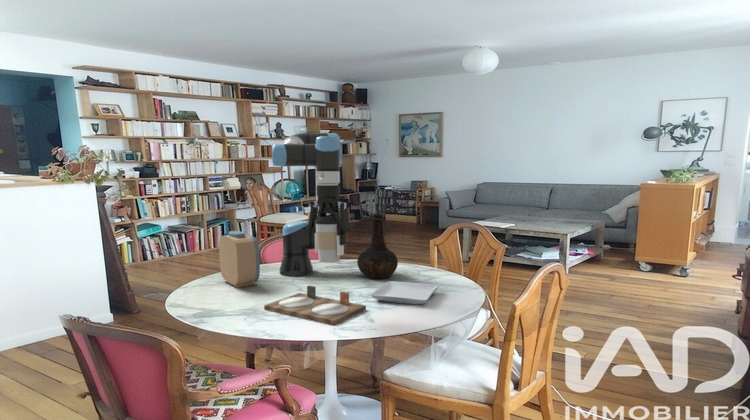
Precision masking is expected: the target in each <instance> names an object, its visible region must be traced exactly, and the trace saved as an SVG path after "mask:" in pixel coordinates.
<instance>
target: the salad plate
mask: <svg viewBox="0 0 750 420" xmlns="http://www.w3.org/2000/svg"><path fill="white" fill-rule="evenodd" d="M439 287H440V284H436V283H435V284H433V283H423V282H422V283H421V282H412V281H411V282H409V281H408V282H407V281H393V280H392V281H391V280H388V281H387V282H385V283H383V284H382V285H381V286H379V287H378V288H377V289H376V290H374V291H373V292H372V293H370V296H371V297H372V298H373V299H375V300H378V301H381V302H389V303H396V304H397V303H398V304H407V305H424V304H426V303H427V301H428V300H429V298H431V296H432V295H433V294H434V293H435V292H436V291H437V290H438V289H439Z"/></svg>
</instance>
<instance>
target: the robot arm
mask: <svg viewBox="0 0 750 420" xmlns="http://www.w3.org/2000/svg"><path fill="white" fill-rule="evenodd" d="M341 144H342V143H341V138H340V135H339V134H338V133H334V132H300V133H296V134H293V135H292V134H291V135H289V136H288V137H286V138H285V139H283V141H282V143H275V144H272V146H271V147H272V148H271V161H272V164H273V166H274V167H313V168H314V169H315V200H311V201H310V202H309V206H310V210H309V218H308V219H309V220H308V221H307V220H300V221H299V220H298V221H294V222H293V221H292V222H288V223H286V224H284V225H283V227H282V234H281V236H282V259H281V264H280V266H279V274H280V275H282V276H286V277H299V276H308V275H310V274H312V273H313V272H314V267H313V264H312V261H311V258H310V250H311V251H312V250H314V253H316V254H318V248H317V239H316V224H315V222H316V221H315V220H316V219H318V216H320V217H324V216H325V215H331V216H332V217H334V219H335V221H336V222H337V231H338V233H339V234H338V235H337V256H340V257H341V256H343V255H345V251H344V250H345V245H346V235H347V234H350V233H352V230H351V225H350V220H349V215H348V214H349V212H348V205H349V203H348V202H346V201H345V202H343V201H340V196H341V187H340V185H339V184H340V183H341V176H340V174H341V173H340V170H341V169H340V162H341V161H343V153H342V151H343V150H342V145H341Z"/></svg>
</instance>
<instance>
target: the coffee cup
mask: <svg viewBox="0 0 750 420" xmlns="http://www.w3.org/2000/svg"><path fill="white" fill-rule="evenodd" d="M315 221H316V222H315V224H316V239H317V248H318V253H317V255H318V261H319V262H320V263H337V262H340V260H341V255H340V256H337V235H338V234H339V233H338V231H337V222H336V221H335V219H334V217H332V216H331V215H325V216H324V217H320V216H318V219H316V220H315Z"/></svg>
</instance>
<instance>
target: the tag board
mask: <svg viewBox="0 0 750 420" xmlns="http://www.w3.org/2000/svg"><path fill="white" fill-rule="evenodd" d="M316 293H317V291H316V286H314V285H306V293H303V292H299V293H296V294H292V295H289V296H286V297H284V298H281V299H278V300H275V301H272V302H269V303H266V304H264V305H263V307H264V310H266V311H268V312H269V311H270V312H274V313H279V314H283V315H288V316H292V317H296V318H300V319H304V320H309V321H312V322H313V321H314V322H318V323H323V324H327V325H331V326H335V325H337V324H339V323H341V322H343V321H345V320H348V319H349V318H352V317H354V316H356V315H359V314H360V313H362V312H364V310H365V311H366V309H367V306H366V305H364V304H361V303H360V304H358V303H354V302H350V292H348V291H339V300H338V299H334V298H333V299H332V298H327V297H322V296H317V295H316Z"/></svg>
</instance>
